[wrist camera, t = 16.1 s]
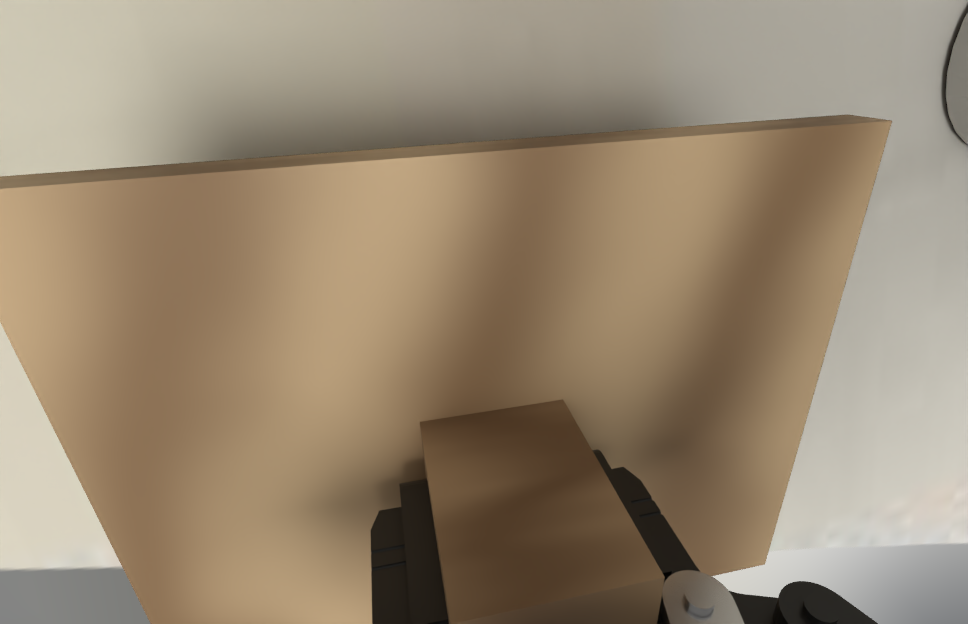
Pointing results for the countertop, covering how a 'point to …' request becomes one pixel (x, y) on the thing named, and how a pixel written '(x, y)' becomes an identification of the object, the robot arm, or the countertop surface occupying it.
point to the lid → (437, 358)
